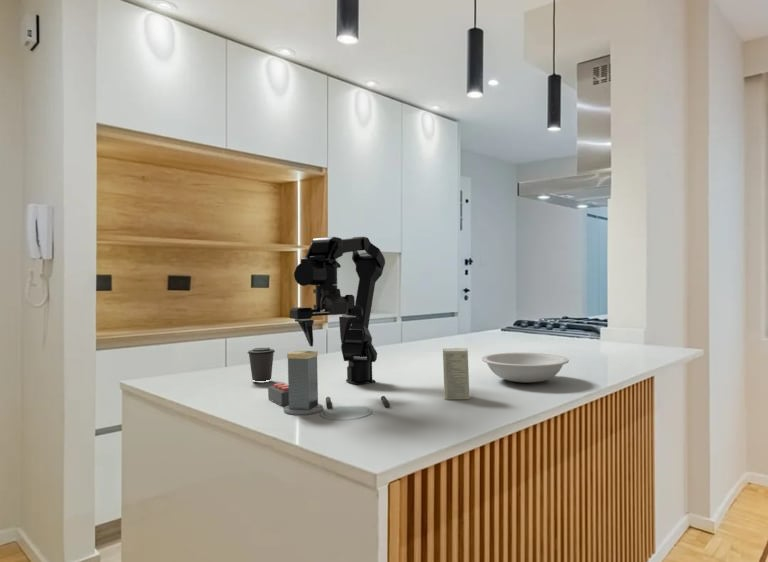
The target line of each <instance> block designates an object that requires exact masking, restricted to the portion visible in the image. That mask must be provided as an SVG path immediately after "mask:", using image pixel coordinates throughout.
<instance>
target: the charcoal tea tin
mask: <svg viewBox="0 0 768 562" xmlns="http://www.w3.org/2000/svg"><path fill="white" fill-rule="evenodd" d="M318 353H319V352H318V350H296V351H293V352H289V353H287V354H286V355H287V356H286V358H287V372H288V373H287V375H288V377H287V378H288V383H287V385H288V389H289V409H291V410H308V411H309V410H311V409H313V408H314V407H316V406H318V404H319V391H318V390H319V389H318V387H319V386H318V385H319V383H318V378H319V376H318V356H319V354H318Z"/></svg>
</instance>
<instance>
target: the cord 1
mask: <svg viewBox="0 0 768 562" xmlns="http://www.w3.org/2000/svg"><path fill="white" fill-rule="evenodd" d="M325 404H326V408H327V409H331V408H332V399H331V397H330V396H326V398H325Z"/></svg>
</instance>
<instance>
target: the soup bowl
mask: <svg viewBox="0 0 768 562" xmlns="http://www.w3.org/2000/svg"><path fill="white" fill-rule="evenodd" d="M481 361H482V362H484V363H486V364H487V366H488V368H489V369H490V371H491V372H492V373H493V374H494V375H496V376H497V377H499V378H501V379H503V380H506V381H510V382H515V383H528V384H529V383H540V382H544V381H548V380H550V379H552V378H554V377H555V376H556V375H557V374H558V373H559V372H560V371H561V370H562V368H563V365H566V364H568V363H569V358H567V357H564V356H561V355H558V354H557V355H556V354H550V353H543V352H542V353H541V352H540V353H539V352H502V353H501V352H500V353H491V354H487V355H484V356H482V357H481Z"/></svg>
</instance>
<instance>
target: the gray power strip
mask: <svg viewBox="0 0 768 562" xmlns="http://www.w3.org/2000/svg"><path fill="white" fill-rule="evenodd" d="M267 393H268V394H267V398H269V399H271V400H273V401H274V402H273V401H272V402H273V403H275V402H276V403H275V404H277V403H278V404H277V405H279V404H280V405H279V406H281V405H282V406H281V407H284V406H283V405H286V406H288V405H289V389H288V384H285V383H284V382H279V383H273V384H272V385H271V386H270V385H269V386H267ZM269 399H268V400H269ZM271 400H270V401H271Z"/></svg>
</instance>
